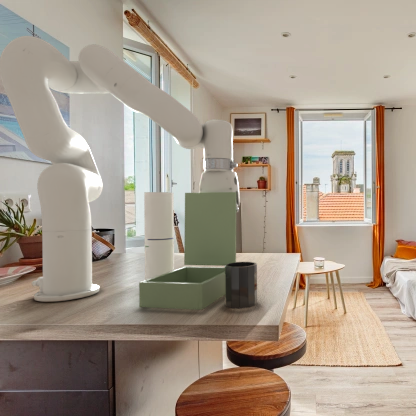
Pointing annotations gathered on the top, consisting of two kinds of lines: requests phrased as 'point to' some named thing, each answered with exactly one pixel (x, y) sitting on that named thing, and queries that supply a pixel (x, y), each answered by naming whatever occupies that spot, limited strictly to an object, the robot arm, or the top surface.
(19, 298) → the top surface
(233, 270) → the cup
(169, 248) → the cylindrical container
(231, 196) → the lid
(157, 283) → the open green box
